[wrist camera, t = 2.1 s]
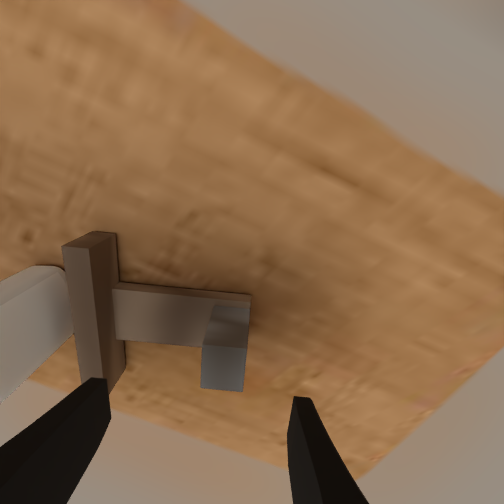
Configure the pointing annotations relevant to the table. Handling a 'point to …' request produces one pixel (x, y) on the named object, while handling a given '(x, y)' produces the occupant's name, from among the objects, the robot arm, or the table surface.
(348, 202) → the table surface
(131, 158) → the table surface
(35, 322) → the eye dropper bottle
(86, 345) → the grey hook bracket
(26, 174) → the table surface
